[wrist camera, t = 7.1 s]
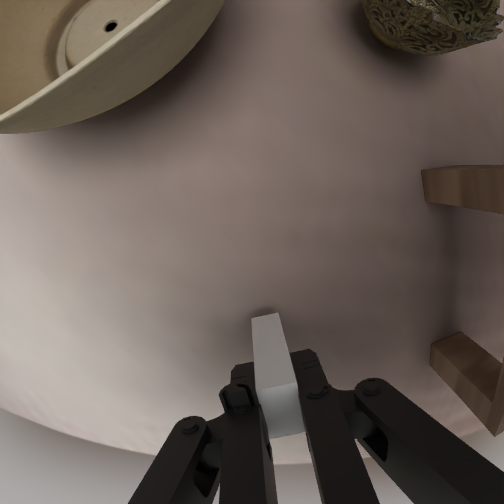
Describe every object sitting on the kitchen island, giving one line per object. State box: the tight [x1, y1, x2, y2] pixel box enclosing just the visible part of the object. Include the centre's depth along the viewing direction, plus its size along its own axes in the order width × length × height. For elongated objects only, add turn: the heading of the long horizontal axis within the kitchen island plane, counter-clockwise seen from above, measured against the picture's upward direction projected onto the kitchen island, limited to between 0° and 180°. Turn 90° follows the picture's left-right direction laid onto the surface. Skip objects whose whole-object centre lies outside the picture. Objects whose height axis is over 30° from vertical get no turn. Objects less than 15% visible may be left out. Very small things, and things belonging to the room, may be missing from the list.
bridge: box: [421, 165, 504, 437], centre depth 14 cm, size 3×14×9 cm, turn 13°
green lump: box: [362, 0, 504, 55], centre depth 11 cm, size 8×7×8 cm
